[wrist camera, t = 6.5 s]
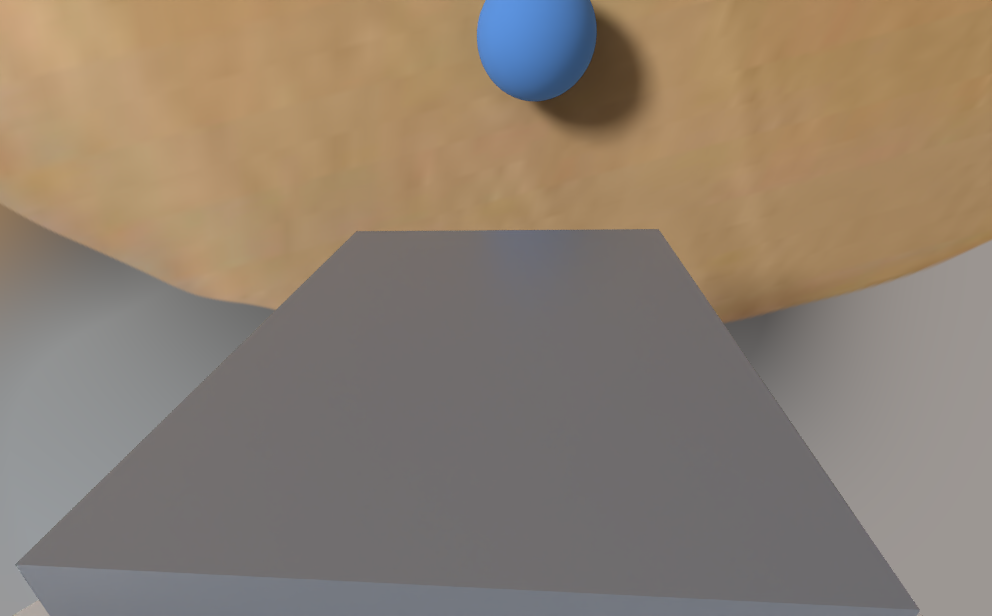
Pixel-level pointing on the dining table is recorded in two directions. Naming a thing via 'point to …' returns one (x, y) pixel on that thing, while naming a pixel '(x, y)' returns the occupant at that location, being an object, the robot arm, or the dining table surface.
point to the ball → (536, 45)
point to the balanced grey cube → (474, 455)
